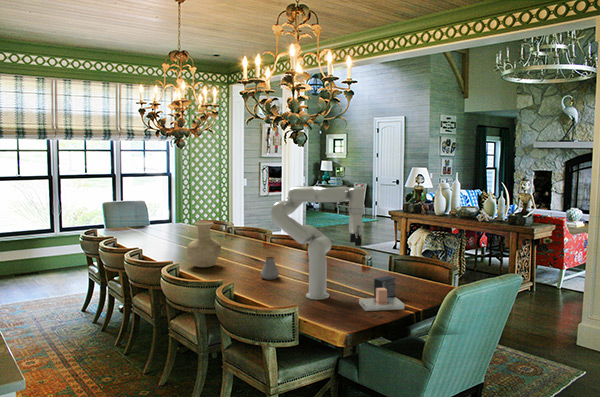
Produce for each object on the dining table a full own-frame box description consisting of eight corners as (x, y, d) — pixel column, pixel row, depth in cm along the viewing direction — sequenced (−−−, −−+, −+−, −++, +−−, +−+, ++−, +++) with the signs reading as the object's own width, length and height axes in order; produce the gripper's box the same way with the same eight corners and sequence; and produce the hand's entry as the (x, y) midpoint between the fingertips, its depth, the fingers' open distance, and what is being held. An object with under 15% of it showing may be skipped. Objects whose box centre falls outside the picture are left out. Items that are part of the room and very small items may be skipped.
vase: (221, 269, 324) (220, 225, 321) (186, 270, 321) (185, 225, 318) (221, 262, 346) (220, 220, 343) (188, 263, 343) (188, 220, 340)
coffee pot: (271, 274, 312) (271, 251, 311) (282, 278, 303) (283, 254, 302) (243, 280, 298) (243, 256, 297) (254, 284, 290) (254, 259, 288)
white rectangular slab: (359, 303, 254) (359, 298, 253) (396, 302, 257) (396, 297, 257) (365, 310, 242) (365, 305, 242) (404, 309, 245) (404, 304, 245)
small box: (386, 293, 272) (386, 275, 271) (395, 296, 267) (395, 277, 266) (373, 297, 265) (373, 278, 264) (382, 300, 260) (382, 280, 259)
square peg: (375, 305, 251) (376, 288, 250) (384, 304, 252) (384, 287, 251) (378, 307, 247) (378, 290, 246) (386, 307, 248) (387, 290, 247)
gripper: (345, 209, 262) (344, 241, 264) (353, 213, 245) (353, 247, 247) (358, 209, 263) (358, 241, 265) (368, 213, 246) (367, 247, 248)
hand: (355, 244), depth 256 cm, fingers open, 9 cm apart
